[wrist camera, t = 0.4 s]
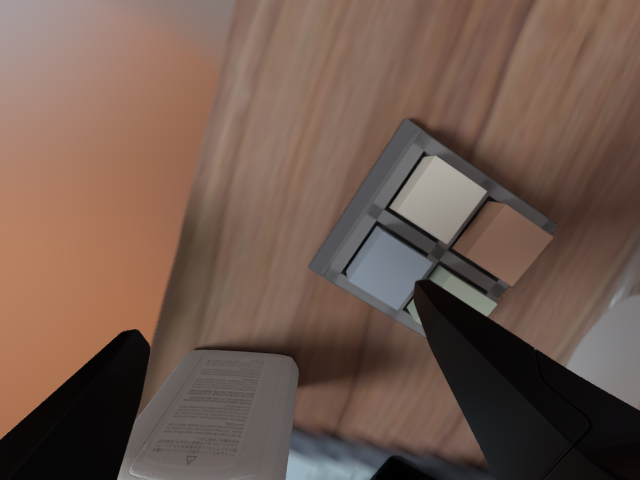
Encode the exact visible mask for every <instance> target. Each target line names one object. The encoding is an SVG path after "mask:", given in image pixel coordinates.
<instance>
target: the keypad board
mask: <svg viewBox="0 0 640 480" xmlns="http://www.w3.org/2000/svg"><path fill="white" fill-rule="evenodd" d="M435 155H436V156H437V157H438V158H440V159H441V160H443V161H444V162H446V163H447V164H449V165H450V166H452V167H453V168H454V169H456V170H457V171H459V172H460V173H462V174H463V175H465V176H466V177H467V178H469V179H470V180H472V181H473V182H475V183H476V184H478V185H479V186H480V187H482V188H483V189H485V190H486V191H487V192H486V194H485V195H484V196H483V198H482V199H481V200H480V201H479V203H478V204H477V205H476V207H475V208H474V209H473V211H472V212H471V213H470V215H469V216H468V217H467V219H466V220H465V221H464V223H463V224H462V225H461V227H460V228H459V229H458V231H457V232H456V233H455V235H454V236H453V237H452V239H451V240H450V241H449V243H448V244H446V243H444V242H442V241H441V240H439V239H437V238H435V237H434V236H432V235H431V234H429V233H428V232H426V231H425V230H423V229H421V228H420V227H418V226H417V225H415V224H414V223H412V222H411V221H409V220H408V219H406V218H404V217H403V216H401V215H400V214H398V213H397V212H395V211H394V210H392V209H391V208H389V207H390V206H391V204H392V203H393V202H394V200H395V199H396V197H397V196H398V194H399V193H400V191H401V190H402V188H403V187H404V185H405V184H406V183H407V181H408V180H409V178H410V177H411V175H412V174H413V172H414V171H415V169H416V168H417V166H418V165H419V164H420V162H421V161H422V159H423V158H424V157H428V156H435ZM487 201H491V202H497V203H502V204H506V205H508V206H509V207H511V208H512V209H514V210H515V211H517V212H518V213H519V214H521V215H522V216H524V217H525V218H527V219H528V220H530V221H531V222H532V223H534V224H535V225H537V226H538V227H540V228H541V229H543V230H544V231H545V232H547V233H548V234H550V235H551V234H552V233H553V232H554V231H555V230H556V228H557V227H558V226H557V225H556V224H557V223H555V222H554V221H552V220H551V219H549V218H548V217H547V216H545V215H544V214H542V213H541V212H539V211H538V210H537V209H535V208H534V207H532V206H531V205H529V204H528V203H527V202H525V201H524V200H522V199H521V198H519V197H518V196H517V195H515V194H514V193H512V192H511V191H509V190H508V189H507V188H505V187H504V186H502V185H501V184H499V183H498V182H497V181H495V180H494V179H492V178H491V177H489V176H488V175H487V174H485V173H484V172H482V171H481V170H480V169H478V168H477V167H475V166H474V165H472V164H471V163H470V162H468V161H467V160H465V159H464V158H462V157H461V156H460V155H458V154H457V153H455V152H454V151H452V150H451V149H450V148H448V147H447V146H445V145H444V144H442V143H441V142H440V141H438V140H437V139H435V138H434V137H432V136H431V135H430V134H428V133H427V132H425V131H424V130H422V129H421V128H420V127H418V126H417V125H415V124H414V123H412V122H411V121H410V120H408V119H407V118H405V119H404V120H403V121H402V122H401V124H400V125H399V127H398V128H397V130H396V131H395V133H394V134H393V136H392V138H391V139H390V141H389V142H388V144H387V145H386V147H385V148H384V150H383V151H382V153H381V154H380V156H379V158H378V159H377V161H376V162H375V164H374V165H373V167H372V168H371V170H370V171H369V173H368V175H367V176H366V178H365V179H364V181H363V182H362V184H361V185H360V187H359V188H358V190H357V191H356V193H355V195H354V196H353V198H352V199H351V201H350V202H349V204H348V205H347V207H346V208H345V210H344V212H343V213H342V215H341V216H340V218H339V219H338V221H337V222H336V224H335V225H334V227H333V228H332V230H331V232H330V233H329V235H328V236H327V238H326V239H325V241H324V242H323V244H322V245H321V247H320V249H319V250H318V252H317V253H316V255H315V256H314V258H313V259H312V261H311V262H310V264H309V267H308V268H309V269H310V270H312V271H314V272H315V273H317V274H319V275H320V276H322V277H324V278H325V279H327V280H329V281H330V282H332V283H334V284H336V285H337V286H339V287H341V288H342V289H344V290H346V291H347V292H349V293H351V294H352V295H354V296H356V297H357V298H359V299H361V300H363V301H364V302H366V303H368V304H369V305H371V306H373V307H374V308H376V309H378V310H379V311H381V312H383V313H385V314H386V315H388V316H390V317H391V318H393V319H395V320H396V321H398V322H400V323H401V324H403V325H405V326H406V327H408V328H410V329H412V330H413V331H415V332H417V333H418V334H420V335H422V336H423V337H425V338H426V335H425V332H424V329H423V327H422V325H421V324H419V323H418V322H416V321H415V320H414V318H413V317H412V315H411V314H410V312H409V310H408V309H407V306H408V305H409V304H410V302H411V301H412V300H413V296H414V289H413V290H412V292H411V293H410V294H409V296H408V297H407V298H406V300H405V301H404V302H403V304H402V305H401V306H400V307H399V309H398V310H396V309H394V308H393V307H391V306H389V305H388V304H386V303H384V302H383V301H381V300H379V299H378V298H376V297H374V296H373V295H371V294H369V293H368V292H366V291H364V290H363V289H361V288H359V287H358V286H356V285H354V284H353V283H351V282H349V281H348V277H347V273H346V270H347V269H348V267H349V266H350V264H351V263H352V261H353V260H354V259H355V257H356V256H357V254H358V253H359V251H360V250H361V248H362V247H363V245H364V244H365V242H366V241H367V240H368V238H369V237H370V235H371V234H372V232H373V231H374V229H375V228H376V226H378V227H380V228H382V229H383V230H385V231H386V232H388V233H389V234H391V235H393V236H394V237H396V238H397V239H399V240H400V241H402V242H404V243H405V244H407V245H408V246H410V247H411V248H413V249H415V250H416V251H418V252H419V253H421V254H423V255H424V256H425V257H426V258H427V259H429V260H430V261H431V262H432V263H433V264H432V265H431V266H430V268H429V269H428V270H427V272H426V273H425V274H424V276H423V277H422V278H421V279H429V277H430V276H431V275H432V274H433V272H434V271H435V270H436V268H437V267H438V266H439V265H440V266H441V267H443V268H445V269H446V270H448V271H449V272H451V273H452V274H454V275H456V276H457V277H459V278H460V279H462V280H463V281H465V282H467V283H468V284H470V285H471V286H473V287H474V288H476V289H478V290H479V291H481V292H482V293H484V294H485V295H486V296H488V297H489V298H490V299H492V300H493V301H494V302H495V301H496V300H497V299H498V298H499V297H500V295H501V294H502V293H503V292H504V291H505V289H506V288H507V287H508V286H509V284H507V283H505V282H504V281H502V280H500V279H499V278H497V277H496V276H494V275H492V274H491V273H489V272H488V271H486V270H485V269H483V268H482V267H480V266H478V265H477V264H475V263H474V262H472V261H471V260H469V259H468V258H466V257H465V256H463V255H462V254H460V253H458V252H457V251H455V250H454V249H452V247H453V246H454V245H455V243H456V242H457V241H458V239H459V238H460V237H461V235H462V234H463V233H464V231H465V230H466V229H467V228H468V226H469V225H470V224H471V222H472V221H473V220H474V218H475V217H476V216H477V214H478V213H479V212H480V210H481V209H482V208H483V207H484V205H485V204H486V203H487Z"/></svg>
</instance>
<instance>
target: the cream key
mask: <svg viewBox="0 0 640 480" xmlns="http://www.w3.org/2000/svg"><path fill="white" fill-rule="evenodd" d="M486 192H487V191H486V190H485V189H483V188H482V187H480V186H479V185H478V184H476V183H475V182H473V181H472V180H470V179H469V178H467V177H466V176H465V175H463V174H462V173H460V172H459V171H457V170H456V169H454V168H453V167H452V166H450V165H449V164H447V163H446V162H444V161H443V160H441V159H440V158H438V157H437V156H436V155H435V156H428V157H424V158H423V159H422V161H421V162H420V164H419V165H418V166H417V168H416V169H415V171H414V172H413V174H412V175H411V177H410V178H409V180H408V181H407V183H406V184H405V185H404V187H403V188H402V190H401V191H400V193H399V194H398V196H397V197H396V199H395V200H394V202H393V203H392V204H391V206H390V207H389V208H391V209H392V210H394V211H395V212H397V213H398V214H400V215H401V216H403V217H404V218H406V219H408V220H409V221H411V222H412V223H414V224H415V225H417V226H418V227H420V228H421V229H423V230H425V231H426V232H428V233H429V234H431V235H432V236H434V237H435V238H437V239H439V240H441V241H442V242H444V243H446V244H448V243H449V241H450V240H451V239H452V237H453V236H454V235H455V233H456V232H457V231H458V229H459V228H460V227H461V225H462V224H463V223H464V221H465V220H466V219H467V217H468V216H469V215H470V213H471V212H472V211H473V209H474V208H475V207H476V205H477V204H478V203H479V201H480V200H481V199H482V198H483V196H484V195H485V194H486Z"/></svg>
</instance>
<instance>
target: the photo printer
mask: <svg viewBox="0 0 640 480" xmlns="http://www.w3.org/2000/svg"><path fill="white" fill-rule="evenodd" d="M298 377H299V371H298V367H297V365H296V363H295V362H294V361H293V358H291V357H289V356H285V355H279V354H269V353H255V352H240V351H222V350H194V351H190V352H188V353H187V354H186V355H185V356H184V357H183V358H182V360H181V361H180V362H179V364H178V365H177V366H176V368H175V369H174V371H173V372H172V373H171V375H170V376H169V377H168V378H167V380H166V381H165V382H164V384H163V385H162V386H161V388H160V389H159V390H158V392H157V393H156V394H155V396H154V397H153V398H152V400H151V401H150V402H149V404H148V405H147V406H146V408H145V409H144V410H143V412H142V413H141V414H140V415H139V417H138V418H137V419H136V421H135V422H134V425H133V429H132V432H131V435H130V439H129V442H128V445H127V449H126V452H125V455H124V459H123V462H122V465H121V469H120V472H119V475H118V479H117V480H285V478H286V470H287V462H288V455H289V447H290V439H291V432H292V424H293V417H294V409H295V401H296V393H297V385H298Z"/></svg>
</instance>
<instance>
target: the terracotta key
mask: <svg viewBox="0 0 640 480" xmlns="http://www.w3.org/2000/svg"><path fill="white" fill-rule="evenodd" d="M553 238H554V237H553V236H551V235H550V234H548V233H547V232H545V231H544V230H543V229H541V228H540V227H538V226H537V225H535V224H534V223H532V222H531V221H530V220H528V219H527V218H525V217H524V216H522V215H521V214H519V213H518V212H517V211H515V210H514V209H512V208H511V207H509V206H508V205H506V204H502V203H497V202H491V201H487V203H486V204H485V205H484V207H483V208H482V209H481V210H480V212H479V213H478V214H477V216H476V217H475V218H474V220H473V221H472V222H471V224H470V225H469V226H468V228H467V229H466V230H465V231H464V233H463V234H462V235H461V237H460V238H459V239H458V241H457V242H456V243H455V245H454V246H453V247H452V249H454V250H455V251H457V252H458V253H460V254H462V255H463V256H465V257H466V258H468V259H469V260H471V261H472V262H474V263H475V264H477V265H478V266H480V267H482V268H483V269H485V270H486V271H488V272H489V273H491V274H492V275H494V276H496V277H497V278H499V279H500V280H502V281H504V282H505V283H507V284H509V285H510V286H512V287H513V285H514V284H515V283H516V282H517V281H518V279H519V278H520V277H521V276H522V275H523V273H524V272H525V271H526V270H527V269H528V268H529V266H530V265H531V264H532V263H533V262H534V260H535V259H536V258H537V257H538V256H539V254H540V253H541V252H542V251H543V250H544V248H545V247H546V246H547V245H548V244H549V243H550V241H551V240H552V239H553Z"/></svg>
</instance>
